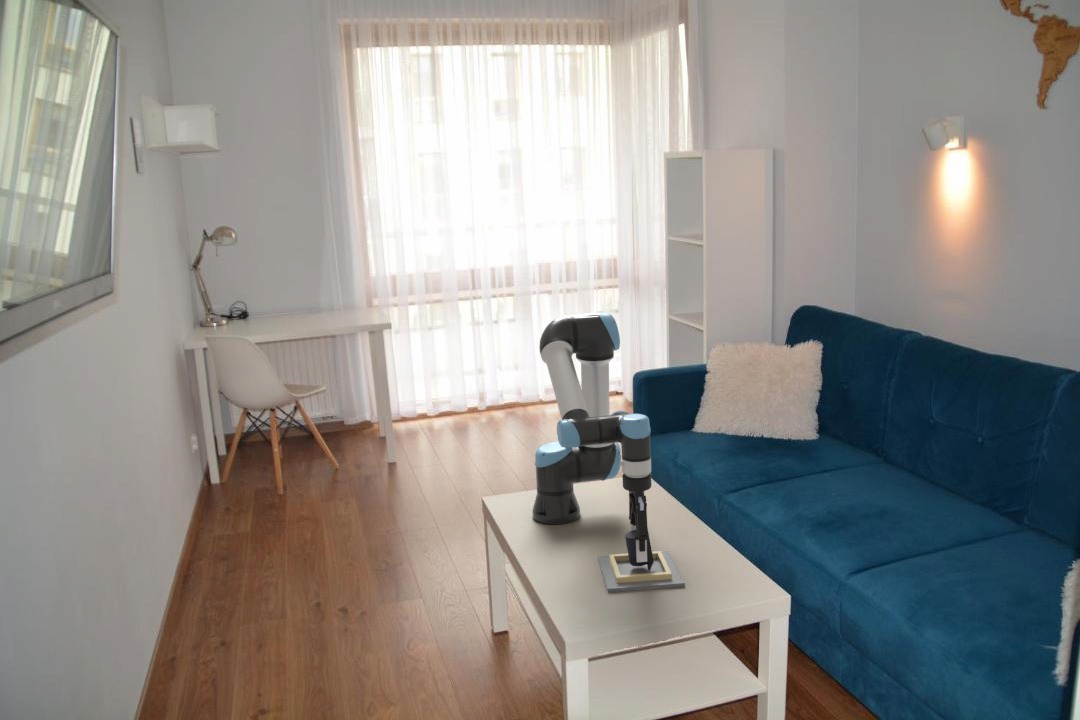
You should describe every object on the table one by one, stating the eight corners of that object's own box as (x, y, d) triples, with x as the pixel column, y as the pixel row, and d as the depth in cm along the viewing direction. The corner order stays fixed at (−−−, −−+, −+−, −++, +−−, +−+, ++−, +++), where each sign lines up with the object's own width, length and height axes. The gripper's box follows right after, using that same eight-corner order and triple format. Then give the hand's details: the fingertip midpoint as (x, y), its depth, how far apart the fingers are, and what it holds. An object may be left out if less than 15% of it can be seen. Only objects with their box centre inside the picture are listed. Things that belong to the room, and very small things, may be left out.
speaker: (661, 562, 230) (655, 525, 229) (649, 571, 226) (644, 534, 224) (637, 558, 235) (631, 522, 234) (625, 567, 231) (620, 530, 229)
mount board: (598, 559, 240) (597, 551, 240) (669, 554, 241) (668, 546, 241) (607, 592, 221) (607, 583, 220) (684, 586, 222) (684, 577, 221)
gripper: (616, 462, 235) (619, 540, 240) (628, 487, 215) (631, 572, 220) (644, 460, 236) (646, 538, 240) (658, 485, 216) (660, 570, 220)
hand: (639, 554), depth 230 cm, fingers closed on speaker, 8 cm apart
